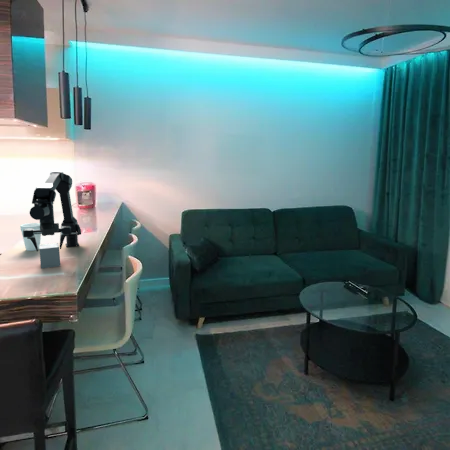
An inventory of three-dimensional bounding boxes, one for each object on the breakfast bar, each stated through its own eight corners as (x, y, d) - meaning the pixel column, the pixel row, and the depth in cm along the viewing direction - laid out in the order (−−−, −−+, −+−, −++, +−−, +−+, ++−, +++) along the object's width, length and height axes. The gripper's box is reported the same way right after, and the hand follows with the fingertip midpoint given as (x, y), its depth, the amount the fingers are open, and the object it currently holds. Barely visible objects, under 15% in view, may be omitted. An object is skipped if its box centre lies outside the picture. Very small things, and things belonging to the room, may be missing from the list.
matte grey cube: (40, 263, 156) (39, 244, 154) (59, 261, 159) (58, 243, 158) (40, 268, 149) (39, 248, 147) (60, 266, 153) (59, 247, 151)
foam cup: (47, 247, 182) (45, 223, 179) (33, 252, 173) (31, 227, 170) (32, 246, 184) (30, 222, 182) (18, 250, 175) (15, 225, 173)
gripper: (21, 220, 138) (24, 257, 141) (71, 217, 147) (73, 252, 150) (22, 215, 148) (25, 250, 151) (69, 213, 157) (71, 246, 160)
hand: (49, 250), depth 152 cm, fingers open, 9 cm apart
